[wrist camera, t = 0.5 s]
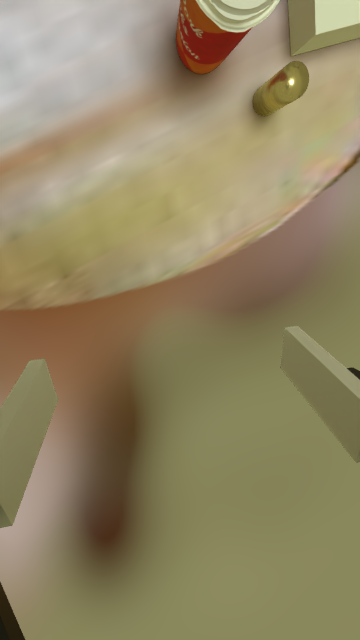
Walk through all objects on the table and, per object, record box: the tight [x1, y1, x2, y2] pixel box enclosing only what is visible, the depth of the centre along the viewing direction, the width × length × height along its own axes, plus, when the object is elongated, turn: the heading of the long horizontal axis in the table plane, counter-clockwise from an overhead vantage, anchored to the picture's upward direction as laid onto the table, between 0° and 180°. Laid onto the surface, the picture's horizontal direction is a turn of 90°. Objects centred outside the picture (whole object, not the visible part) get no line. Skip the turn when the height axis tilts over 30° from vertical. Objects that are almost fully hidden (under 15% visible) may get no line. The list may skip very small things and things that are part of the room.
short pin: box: [253, 61, 309, 116], centre depth 31 cm, size 3×3×7 cm
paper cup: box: [176, 0, 280, 74], centre depth 25 cm, size 8×8×14 cm
